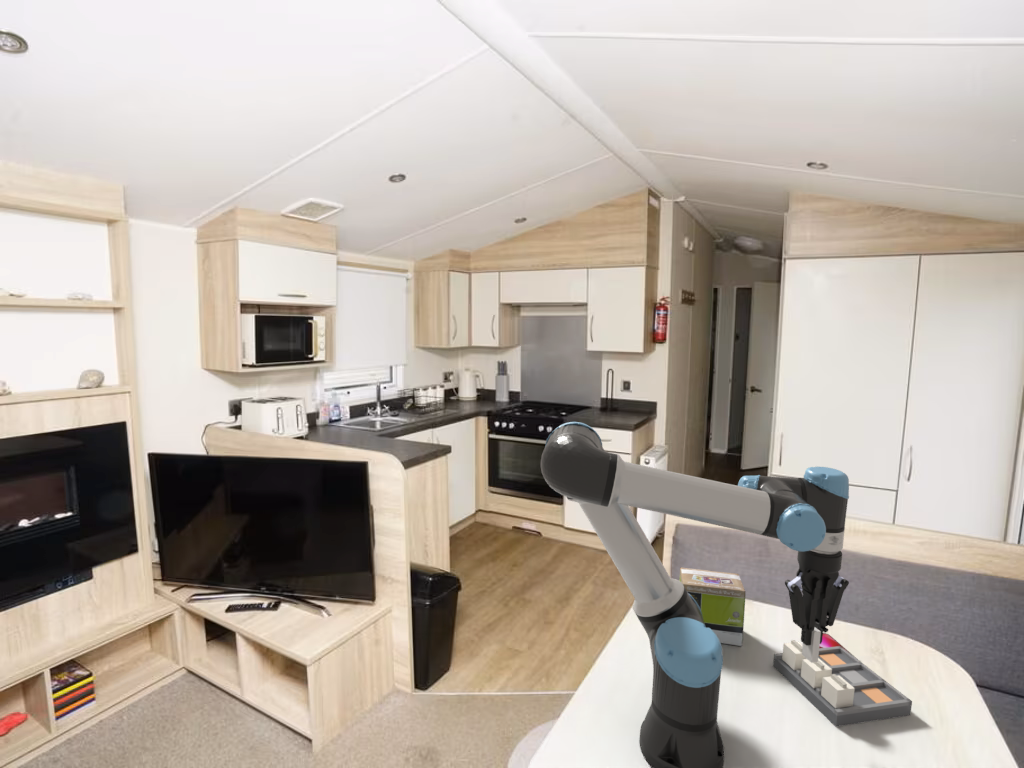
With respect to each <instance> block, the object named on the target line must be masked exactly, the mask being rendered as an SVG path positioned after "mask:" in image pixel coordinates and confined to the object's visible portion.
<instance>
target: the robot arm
mask: <svg viewBox="0 0 1024 768" xmlns="http://www.w3.org/2000/svg"><path fill="white" fill-rule="evenodd" d="M540 458H541V459H540V469H541V474H542V477H543V479H544V481H545V482H546V484H547V485H548V486H549V488H551V489H552V490H553V491H555V492H556V493H558V494H559V495H561V496H564V497H566V498H567V500H568V501H570V502H574V503H577V504H579V506H580V508H581V510H582V511H583V514H585V516H586V518H587V519H588V520H587V521H588V522H589V524H590V525H591V526H592V529H593V530H594V532H595V534H596V536H597V537H598V539H599V540H600V542H601V544H602V545H603V547H604V549H605V550H606V552H607V554H608V555H609V557H610V559H611V560H612V562H613V564H614V566H615V567H616V569H617V571H618V573H619V574H620V576H621V577H622V580H623V581H624V582H625V583H624V584H626V586H627V588H628V589H629V591H630V593H631V595H632V597H634V600H633V604H632V609H633V612H634V614H635V615H636V617H637V619H638V621H639V622H640V624H641V626H642V628H643V629H644V630H645V633H646V635H647V636H648V639H649V645H650V646H649V648H650V652H651V659H652V665H653V666H652V667H653V670H652V671H653V674H652V675H653V676H652V689H651V690H652V692H651V704H650V706H649V708H648V710H647V713H646V715H645V717H644V720H643V721H642V723H641V724H640V725H641V726H640V728H639V729H640V730H639V748H640V752H641V754H642V755H643V757H644V758H645V761H647V762H648V764H649V765H650V766H651V767H652V768H724V762H725V747H724V743H723V738H722V735H721V731H720V728H719V727H720V726H719V723H718V710H719V709H718V708H719V701H720V700H719V699H720V698H719V697H720V688H721V687H720V686H721V675H722V669H723V665H724V664H723V661H724V658H723V647H722V643H720V641H719V639H718V637H717V635H716V634H715V633H714V632H713V631H712V630H711V629H710V628H706V626H705V623H704V620H703V616H702V612H701V609H700V607H699V605H698V604H697V602H696V601H695V600H694V598H693V597H692V596H691V595H690V594H689V593H688V592H687V591H686V589H685V587H684V586H683V584H682V583H681V582H680V579H676V578H673V577H671V576H670V575H669V572H668V571H667V569H666V568H665V566H664V565H663V563H662V561H661V559H660V558H659V557H660V556H658V554H657V552H656V551H655V549H654V547H653V546H652V544H651V541H649V539H648V538H647V535H646V534H645V532H644V530H643V529H642V526H641V525H640V524H639V521H638V520H637V519H636V517H635V515H634V512H632V510H631V508H630V507H633V508H635V509H636V508H637V509H640V510H641V509H642V510H646V511H650V512H655V513H660V514H663V515H664V514H665V515H669V516H674V517H677V518H682V519H687V520H692V521H696V522H701V523H704V524H709V525H714V526H719V527H724V528H726V529H727V528H728V529H733V530H736V531H742V532H746V533H751V534H756V535H759V536H764V537H768V538H772V539H775V540H779V541H780V543H781V544H783V545H785V546H786V547H787V548H789V549H790V550H793V551H795V552H797V557H796V559H797V562H798V569H797V571H796V574H795V575H796V577H794V578H793V579H792V580H790V579H786V580H785V581H784V586H785V587H786V589H787V590H788V596H789V597H788V598H789V601H790V603H789V604H790V609H791V617H792V623H794V624H795V625H796V626H798V627H799V628H800V629H801V634H800V641H801V642H802V645H803V646H802V655H803V656H804V657H805V658H807V659H808V660H809V661H810V662H811V663H813V662H818V656H819V645H820V644H821V643H822V638H823V637H822V636H823V633H828V632H829V629H828V628H827V627H828V626H829V627H832V626H834V623H835V621H836V620H835V619H836V618H837V614H838V612H839V608H840V605H841V602H842V598H843V595H844V592H845V590H846V589H847V588H848V586H849V584H850V582H849V580H848V579H846V578H844V577H842V576H841V575H840V573H839V572H840V571H841V569H842V560H843V552H842V550H843V548H844V540H845V539H844V538H845V529H846V527H845V526H846V519H847V518H846V517H847V510H848V502H849V498H850V493H849V492H850V484H849V482H850V480H849V476H848V475H847V474H846V473H845V472H843V471H842V470H839V469H837V468H832V467H828V466H810V467H808V468H806V469H805V472H804V474H803V477H784V476H783V477H780V476H767V475H760V474H758V475H743V476H742V477H740V479H739V481H738V483H737V485H735V484H732V483H725V482H722V481H717V480H713V479H707V478H702V477H700V476H694V475H689V474H684V473H679V472H675V471H671V470H665V469H661V468H657V467H653V466H652V467H651V466H648V465H647V466H646V465H644V464H643V465H642V464H638V463H632V462H628V461H624V460H623V459H622V457H621V456H620V454H618V453H612V452H608V451H605V449H604V448H603V442H602V438H601V437H600V435H599V433H598V432H597V431H596V430H595V429H594V428H593V427H591V426H590V425H588V424H586V423H584V422H578V421H570V422H569V421H568V422H565V423H562V424H560V425H559V426H557V427H556V428H555V429H554V430H552V432H551V433H550V434H549V435H548V437H547V438H546V441H545V446H544V449H543V451H542V454H541V457H540ZM801 642H800V643H801Z"/></svg>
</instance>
